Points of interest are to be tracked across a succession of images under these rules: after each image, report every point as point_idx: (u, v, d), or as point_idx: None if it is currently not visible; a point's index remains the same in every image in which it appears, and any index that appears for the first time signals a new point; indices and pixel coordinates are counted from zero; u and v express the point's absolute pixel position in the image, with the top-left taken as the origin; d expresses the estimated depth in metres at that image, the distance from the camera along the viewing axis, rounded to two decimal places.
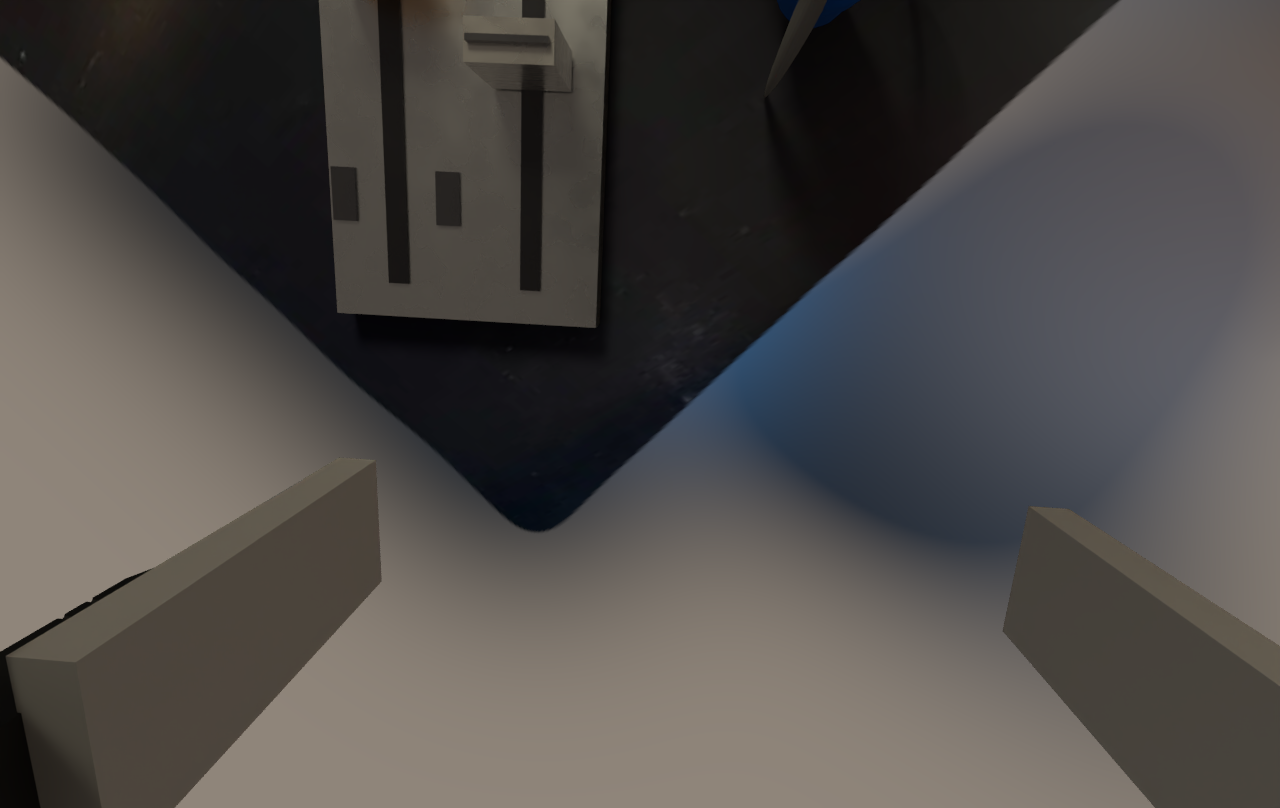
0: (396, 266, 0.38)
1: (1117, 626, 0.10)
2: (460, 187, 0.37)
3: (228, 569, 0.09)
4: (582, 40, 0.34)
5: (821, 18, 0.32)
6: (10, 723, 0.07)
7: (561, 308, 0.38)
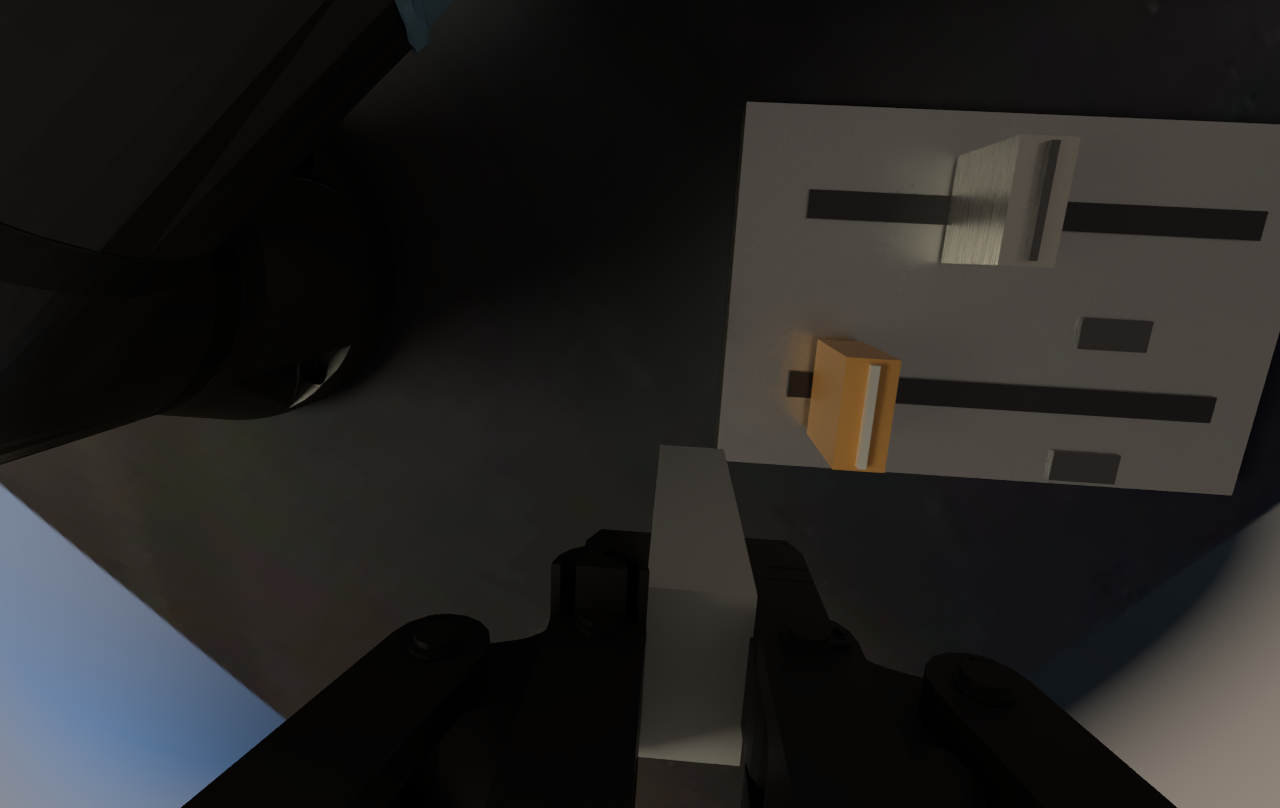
0: (1186, 412, 0.29)
1: None
2: (1100, 317, 0.28)
3: None
4: (942, 143, 0.27)
5: None
6: None
7: None
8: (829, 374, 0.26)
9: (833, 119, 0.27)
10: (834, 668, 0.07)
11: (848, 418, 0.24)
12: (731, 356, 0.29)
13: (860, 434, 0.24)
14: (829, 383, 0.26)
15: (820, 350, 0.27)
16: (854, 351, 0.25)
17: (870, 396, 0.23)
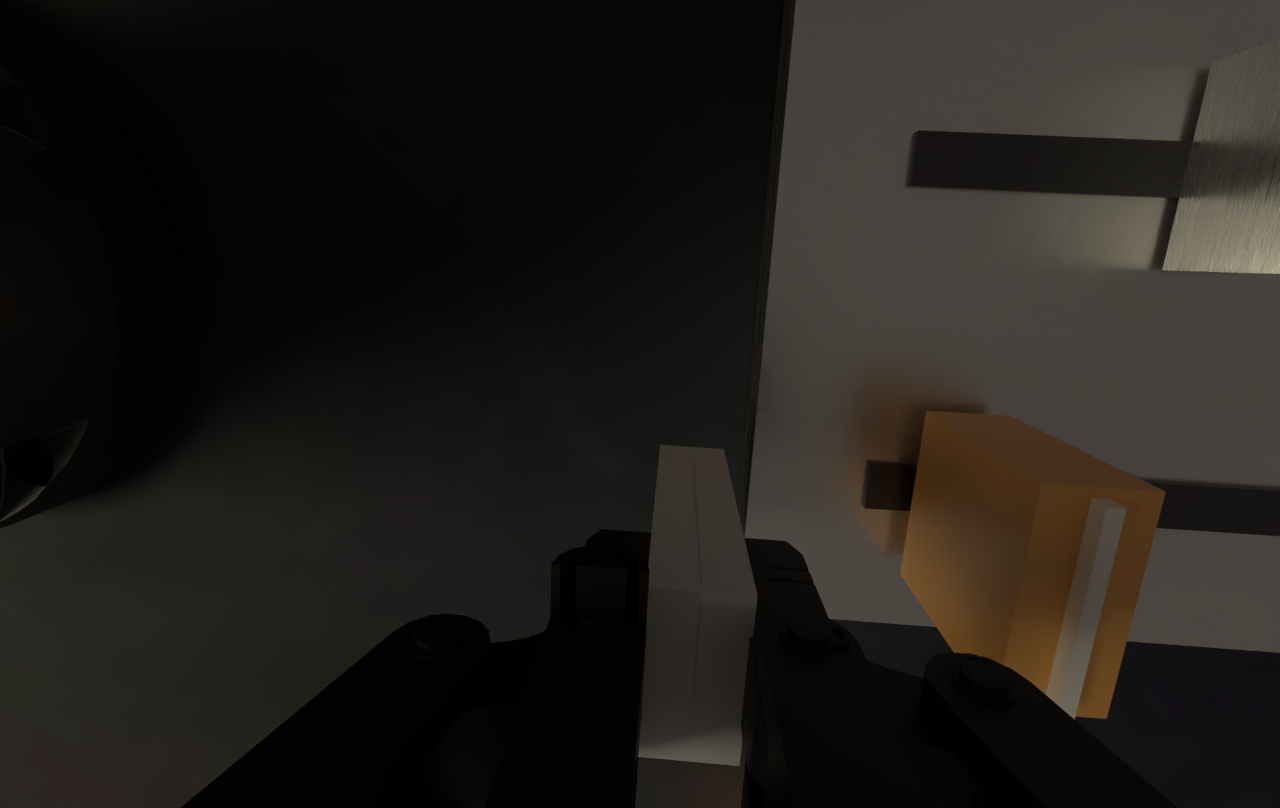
0: None
1: None
2: None
3: None
4: (1179, 38, 0.14)
5: None
6: None
7: None
8: (970, 494, 0.13)
9: None
10: (834, 668, 0.07)
11: (1034, 610, 0.11)
12: (765, 438, 0.16)
13: (1059, 641, 0.11)
14: (971, 513, 0.13)
15: (937, 434, 0.15)
16: (1032, 455, 0.12)
17: (1095, 573, 0.10)
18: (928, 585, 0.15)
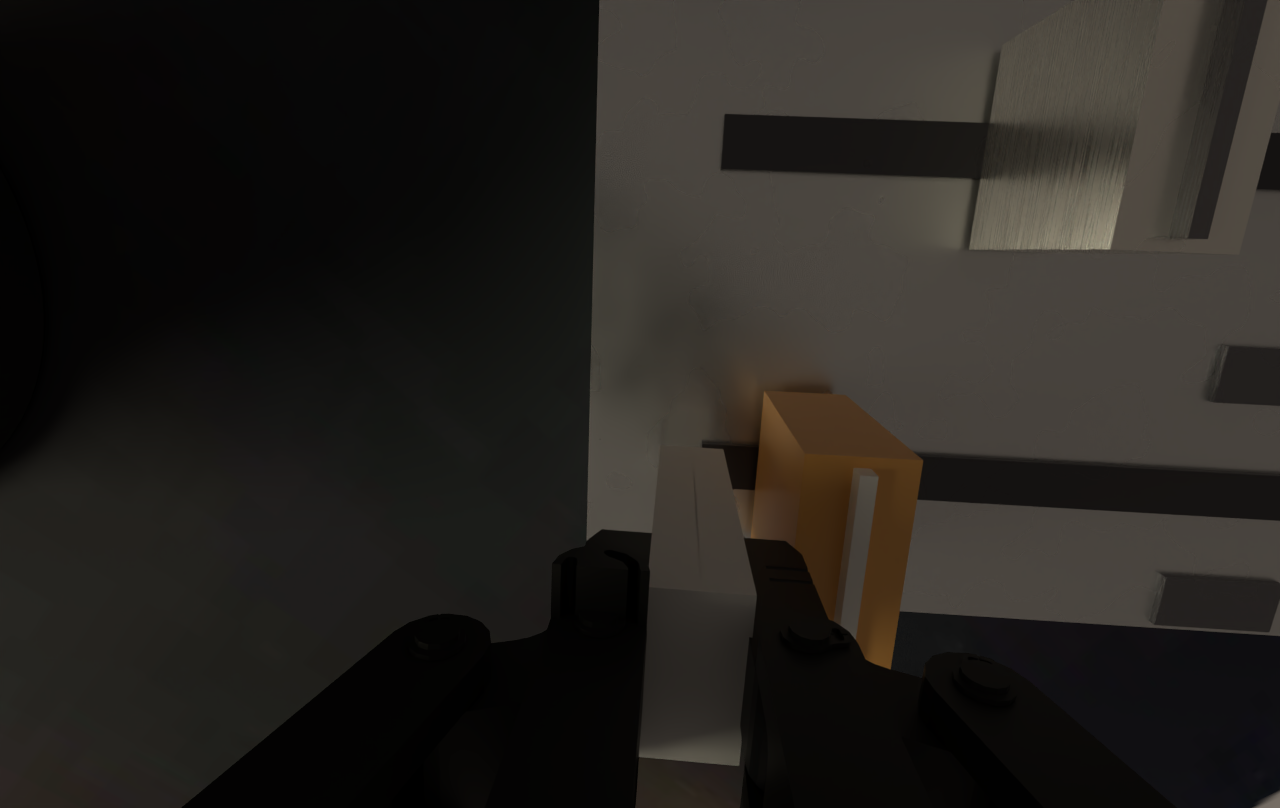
0: None
1: None
2: (1258, 346, 0.15)
3: None
4: (972, 21, 0.14)
5: None
6: None
7: None
8: (778, 469, 0.13)
9: None
10: (833, 668, 0.07)
11: None
12: (600, 418, 0.17)
13: (836, 608, 0.11)
14: (778, 488, 0.13)
15: (767, 413, 0.15)
16: (824, 429, 0.12)
17: (855, 540, 0.11)
18: None
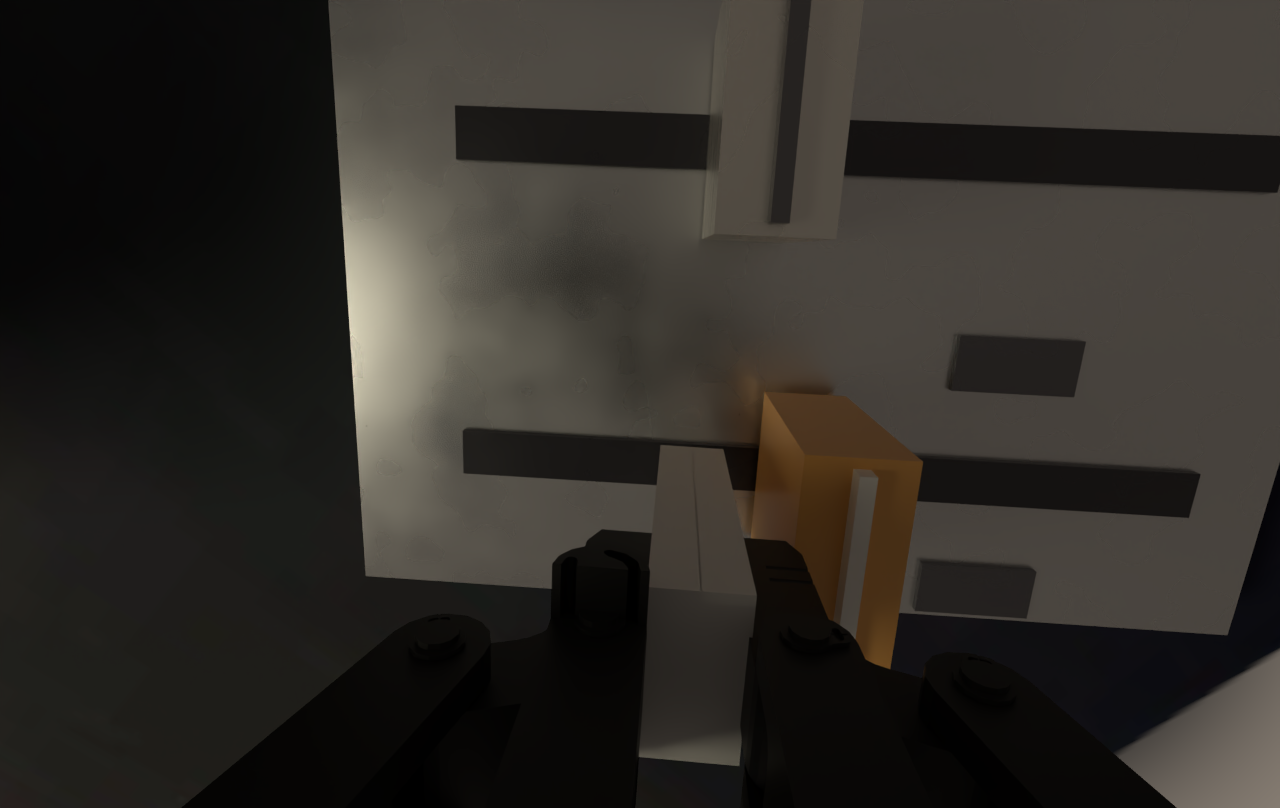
0: (1147, 497, 0.16)
1: None
2: (991, 335, 0.16)
3: None
4: (687, 15, 0.14)
5: None
6: None
7: None
8: (778, 469, 0.13)
9: None
10: (834, 668, 0.07)
11: None
12: (365, 405, 0.17)
13: (835, 610, 0.11)
14: (778, 489, 0.13)
15: (768, 414, 0.15)
16: (824, 430, 0.12)
17: (855, 541, 0.11)
18: None
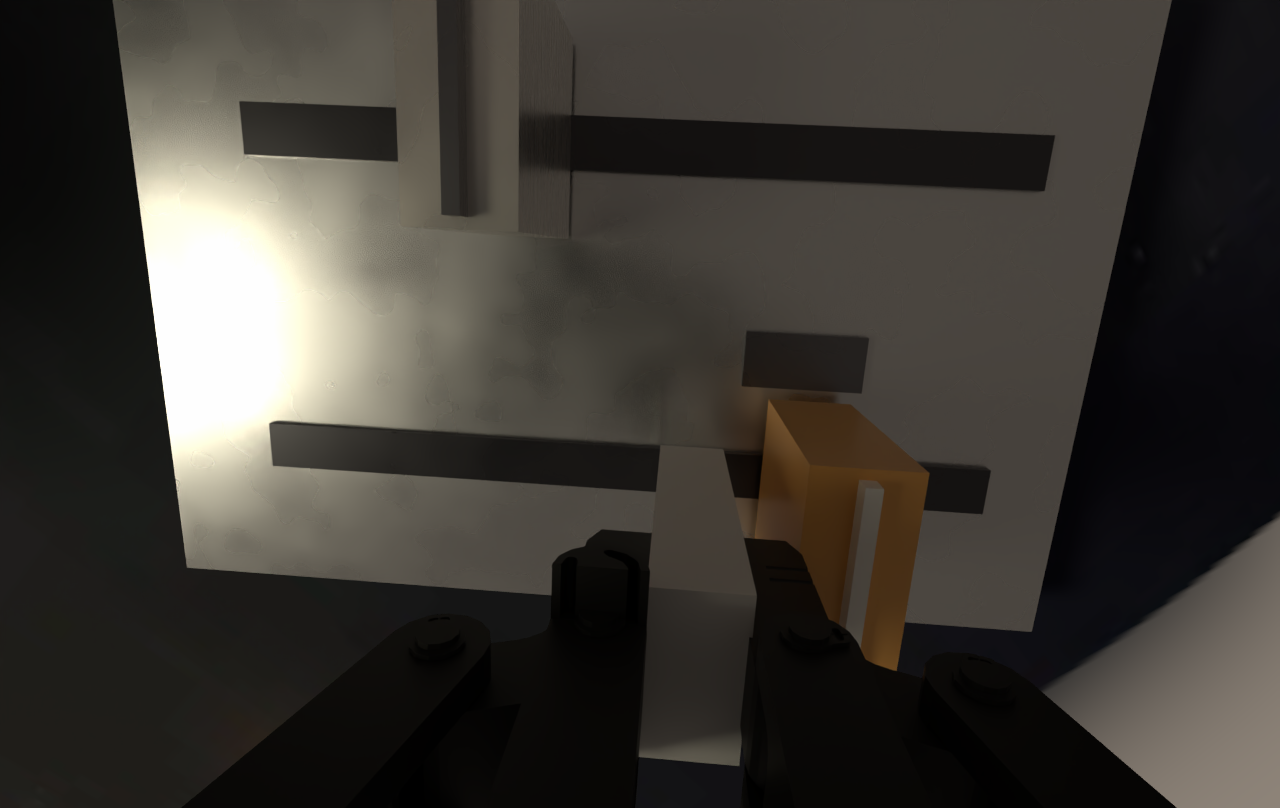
0: (943, 494, 0.16)
1: None
2: (778, 331, 0.16)
3: None
4: None
5: None
6: None
7: (1106, 78, 0.14)
8: (782, 479, 0.13)
9: None
10: (833, 668, 0.07)
11: None
12: (175, 398, 0.17)
13: (840, 622, 0.11)
14: (782, 498, 0.13)
15: (772, 422, 0.15)
16: (829, 440, 0.12)
17: (860, 553, 0.11)
18: None
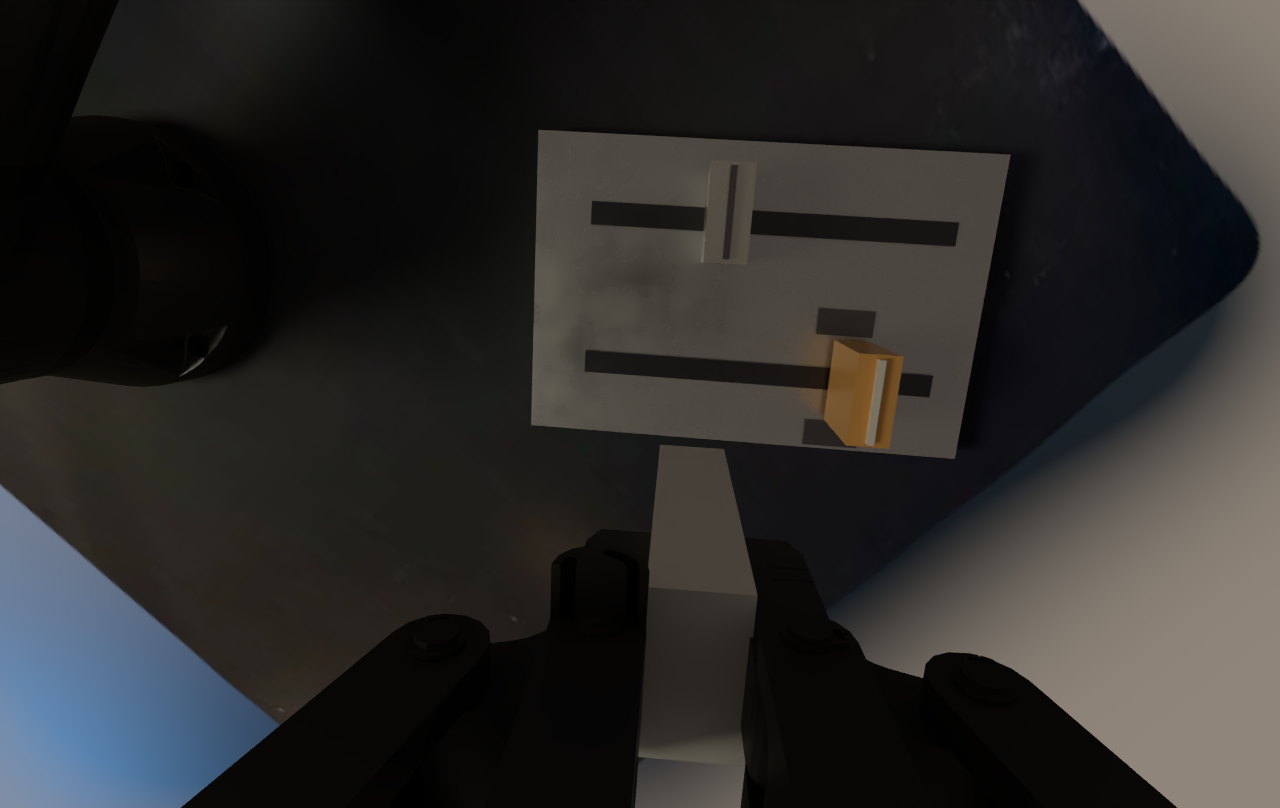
0: (911, 387, 0.34)
1: None
2: (834, 308, 0.34)
3: None
4: (696, 164, 0.33)
5: None
6: None
7: (981, 198, 0.32)
8: (844, 367, 0.31)
9: (607, 144, 0.33)
10: (834, 668, 0.07)
11: (859, 403, 0.29)
12: (538, 338, 0.35)
13: (869, 416, 0.29)
14: (844, 375, 0.31)
15: (837, 348, 0.33)
16: (865, 349, 0.30)
17: (877, 385, 0.29)
18: (832, 415, 0.33)
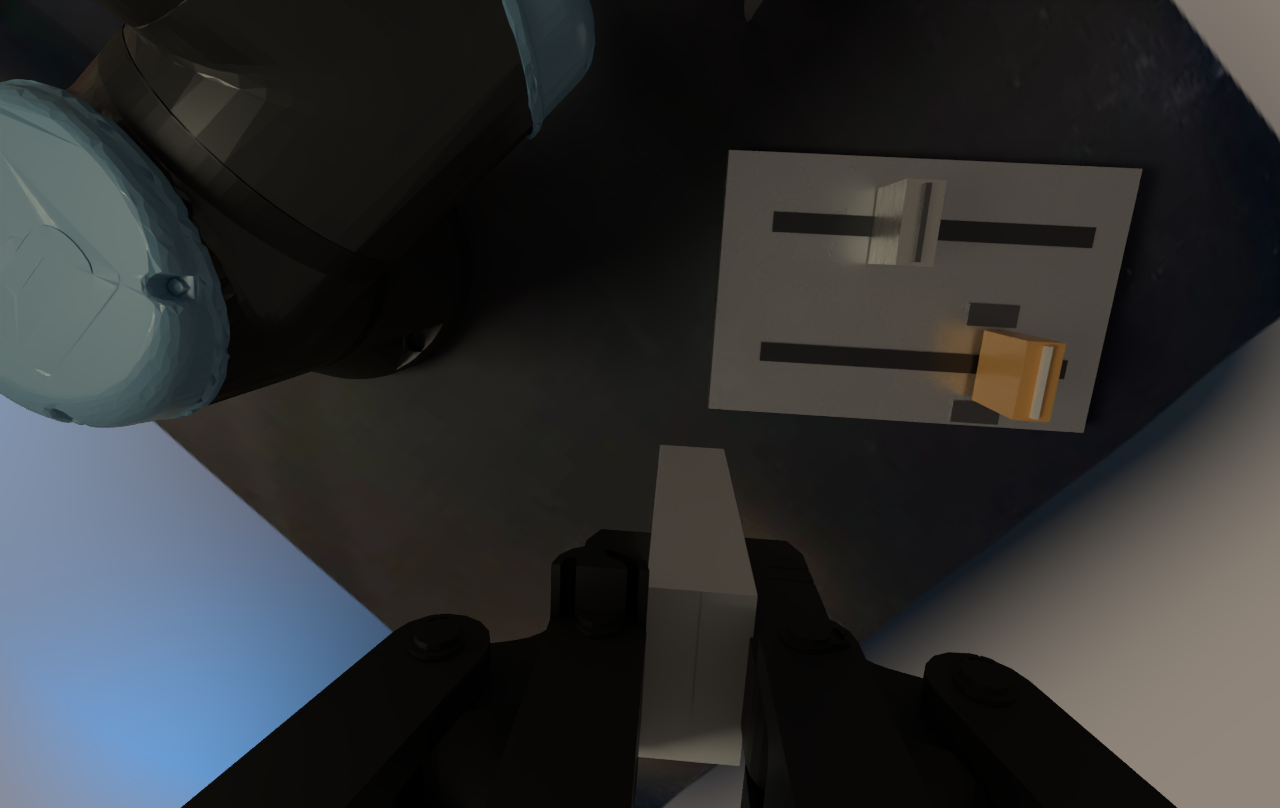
0: None
1: None
2: (982, 302, 0.39)
3: None
4: (867, 179, 0.38)
5: None
6: None
7: (1116, 206, 0.37)
8: (1004, 354, 0.36)
9: (790, 162, 0.38)
10: (834, 668, 0.07)
11: (1025, 383, 0.34)
12: (719, 331, 0.40)
13: (1034, 394, 0.34)
14: (1004, 360, 0.36)
15: (989, 337, 0.38)
16: (1025, 337, 0.35)
17: (1044, 368, 0.34)
18: (985, 395, 0.38)
